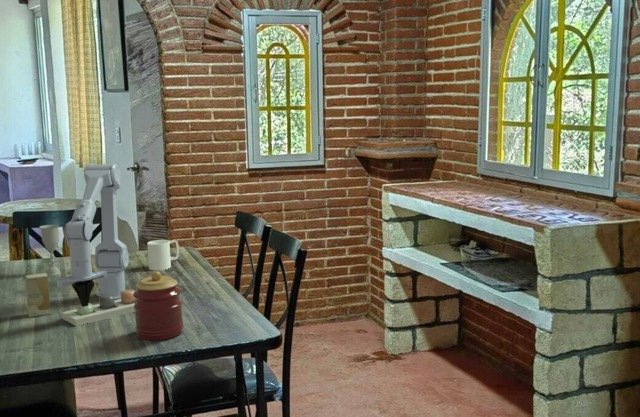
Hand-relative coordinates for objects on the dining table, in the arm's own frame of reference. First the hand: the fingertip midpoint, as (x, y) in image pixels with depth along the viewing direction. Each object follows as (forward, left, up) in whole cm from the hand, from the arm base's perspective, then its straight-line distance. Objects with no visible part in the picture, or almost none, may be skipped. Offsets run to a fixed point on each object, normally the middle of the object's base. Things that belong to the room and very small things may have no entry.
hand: (84, 305), depth 211 cm
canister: (+28, +9, -4) cm, 30 cm away
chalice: (-62, +15, -4) cm, 64 cm away
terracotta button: (0, +14, -2) cm, 14 cm away
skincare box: (-15, -8, -4) cm, 18 cm away
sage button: (0, 0, -3) cm, 3 cm away
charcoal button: (0, +7, -2) cm, 7 cm away
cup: (-39, +49, -4) cm, 63 cm away
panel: (0, +7, -4) cm, 8 cm away
